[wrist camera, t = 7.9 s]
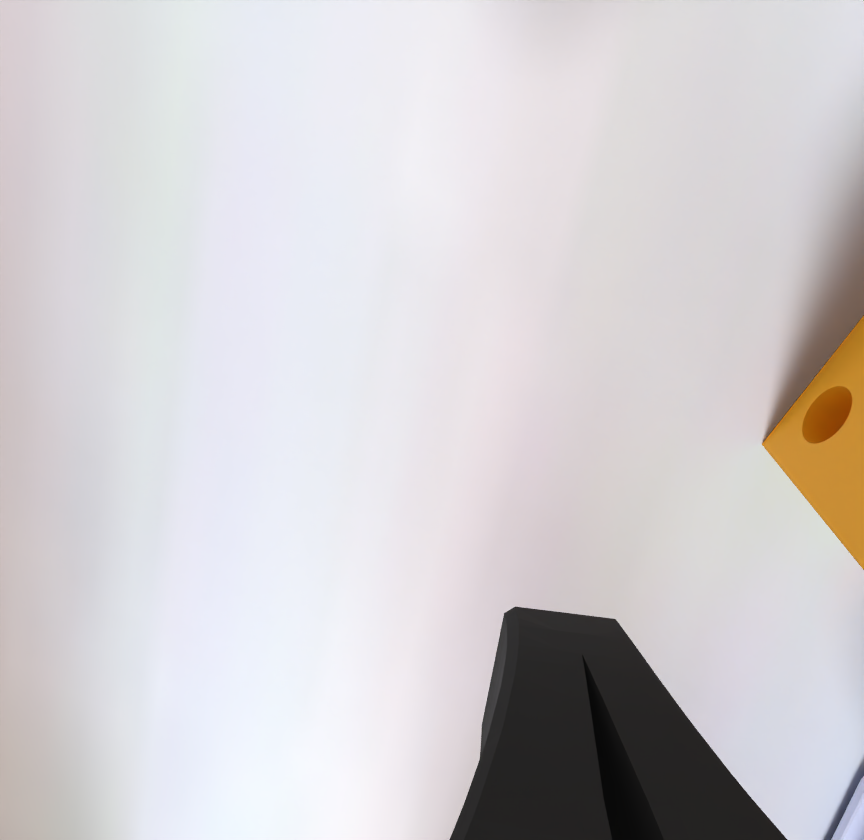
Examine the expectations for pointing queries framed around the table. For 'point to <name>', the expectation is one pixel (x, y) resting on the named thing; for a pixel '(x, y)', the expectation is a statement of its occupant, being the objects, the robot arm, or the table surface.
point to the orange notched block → (829, 443)
